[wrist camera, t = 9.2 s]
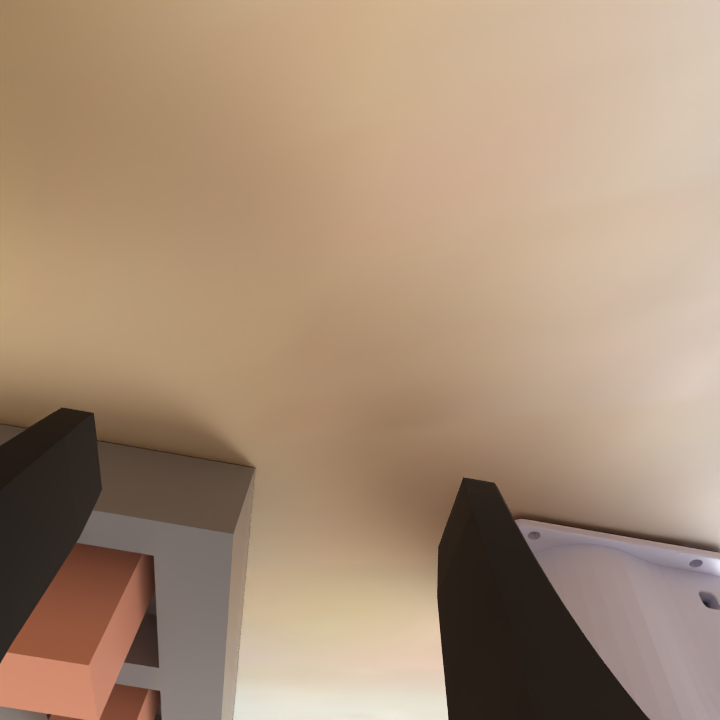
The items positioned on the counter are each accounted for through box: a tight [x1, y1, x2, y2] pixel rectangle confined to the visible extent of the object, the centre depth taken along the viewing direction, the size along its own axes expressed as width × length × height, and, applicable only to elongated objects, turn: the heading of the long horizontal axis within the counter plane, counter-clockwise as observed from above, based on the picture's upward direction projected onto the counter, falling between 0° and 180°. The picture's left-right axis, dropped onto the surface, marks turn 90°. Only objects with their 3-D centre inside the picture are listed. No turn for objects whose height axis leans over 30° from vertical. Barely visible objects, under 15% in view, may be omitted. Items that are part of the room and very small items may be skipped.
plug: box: [0, 543, 155, 720], centre depth 24 cm, size 4×4×6 cm
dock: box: [0, 424, 255, 720], centre depth 27 cm, size 12×22×7 cm, turn 171°
